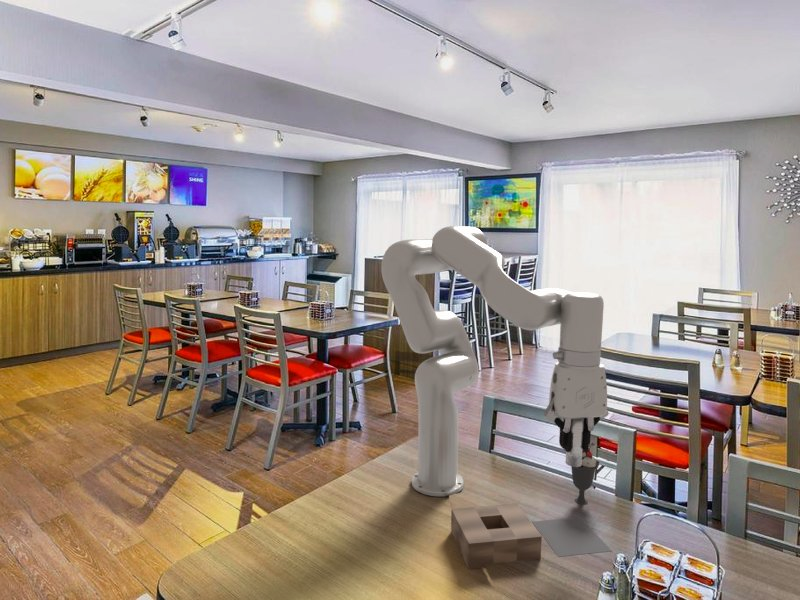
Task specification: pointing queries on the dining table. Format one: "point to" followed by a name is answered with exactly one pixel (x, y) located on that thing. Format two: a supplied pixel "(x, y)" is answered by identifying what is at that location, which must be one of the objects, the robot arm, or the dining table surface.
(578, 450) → the peg
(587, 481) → the sundae
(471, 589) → the dining table surface
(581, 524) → the mat
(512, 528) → the hole block
